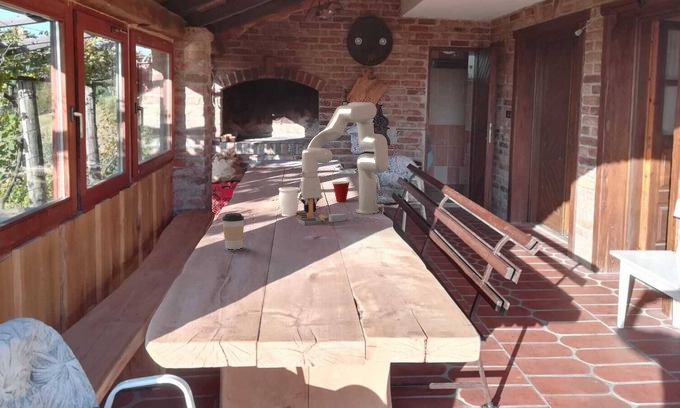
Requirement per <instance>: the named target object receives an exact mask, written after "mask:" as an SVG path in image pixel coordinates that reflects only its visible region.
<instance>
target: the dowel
mask: <svg viewBox="0 0 680 408" xmlns="http://www.w3.org/2000/svg"><path fill="white" fill-rule="evenodd" d="M308 208H309V212H308V213H306V214H307V217H308V218H313V217H314V212H313V198H310V199H308Z"/></svg>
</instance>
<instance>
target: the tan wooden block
mask: <svg viewBox="0 0 680 408" xmlns="http://www.w3.org/2000/svg"><path fill="white" fill-rule="evenodd" d="M332 214H333V213H324V214H322V213H321V214H319V215H318V218H319V219H321V220H324V222H325V221H329V215H332Z"/></svg>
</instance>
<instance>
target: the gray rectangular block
mask: <svg viewBox="0 0 680 408" xmlns="http://www.w3.org/2000/svg"><path fill="white" fill-rule="evenodd" d="M331 214H332V215H329V220H328V222H331V223H333V222H334V223H335V222H343V221H344V222H345V221H346V220H347V219H346V218H347V217H346V216H347V215H346V214H345V213H331Z"/></svg>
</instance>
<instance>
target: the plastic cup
mask: <svg viewBox="0 0 680 408" xmlns="http://www.w3.org/2000/svg"><path fill="white" fill-rule="evenodd" d="M350 183H351V181H349V180H337V181H332V182H331V185H332V186H333V190H334V194H335V195H334V196H335V201H336V203H346V202H347V200H348V199H347V198H348V194H349V187H350Z"/></svg>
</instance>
